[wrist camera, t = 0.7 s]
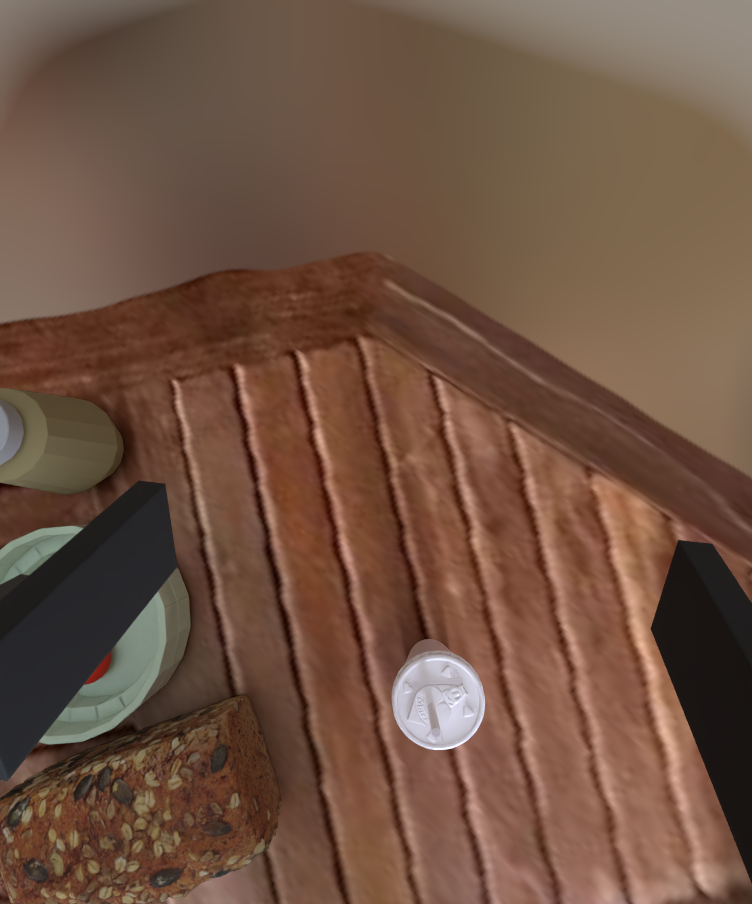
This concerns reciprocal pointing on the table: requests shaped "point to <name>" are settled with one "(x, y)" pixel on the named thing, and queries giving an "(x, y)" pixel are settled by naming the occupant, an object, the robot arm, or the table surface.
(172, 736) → the bread
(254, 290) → the table surface
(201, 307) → the table surface
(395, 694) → the smoothie
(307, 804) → the table surface
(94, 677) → the cherry tomato
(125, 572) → the robot arm
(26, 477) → the squeeze bottle
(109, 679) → the bowl
